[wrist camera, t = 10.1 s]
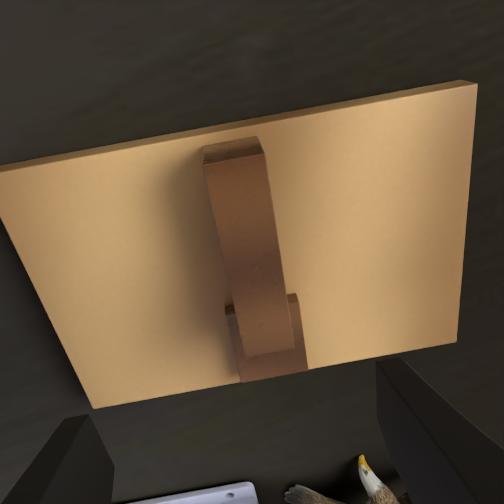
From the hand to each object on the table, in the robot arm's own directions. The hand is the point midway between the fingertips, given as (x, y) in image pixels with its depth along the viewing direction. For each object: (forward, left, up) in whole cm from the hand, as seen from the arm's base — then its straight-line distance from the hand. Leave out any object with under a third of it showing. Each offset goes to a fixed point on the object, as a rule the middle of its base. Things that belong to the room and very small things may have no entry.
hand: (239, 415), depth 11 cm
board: (-1, +1, -9) cm, 9 cm away
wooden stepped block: (-1, +1, -8) cm, 8 cm away
